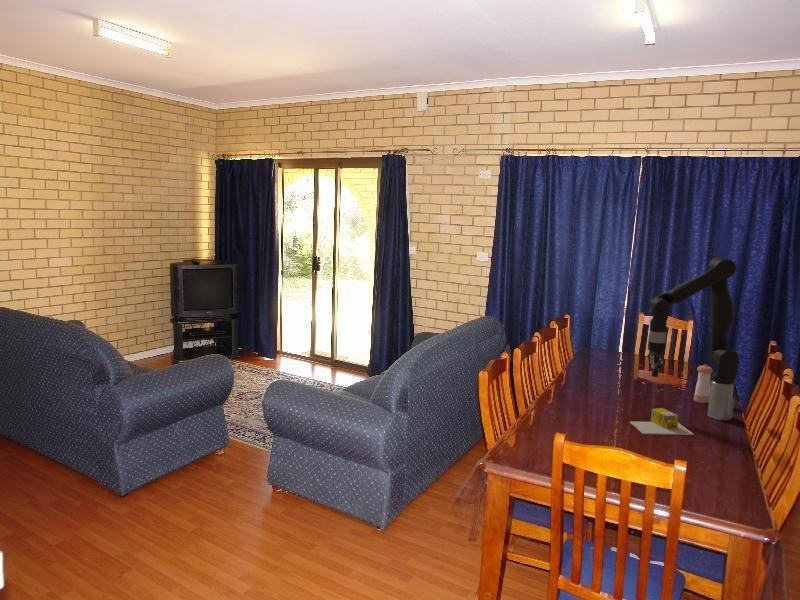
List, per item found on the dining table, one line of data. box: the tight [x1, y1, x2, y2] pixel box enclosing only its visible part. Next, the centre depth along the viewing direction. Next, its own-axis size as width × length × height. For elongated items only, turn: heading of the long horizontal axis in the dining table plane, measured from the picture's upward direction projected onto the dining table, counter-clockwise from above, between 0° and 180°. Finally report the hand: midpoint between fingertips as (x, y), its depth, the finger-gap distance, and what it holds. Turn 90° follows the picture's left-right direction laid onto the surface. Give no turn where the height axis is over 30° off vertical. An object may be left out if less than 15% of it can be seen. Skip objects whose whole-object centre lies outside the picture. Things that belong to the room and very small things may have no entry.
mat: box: [629, 421, 695, 436], centre depth 253 cm, size 22×14×1 cm, turn 91°
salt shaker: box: [693, 363, 714, 404], centre depth 292 cm, size 7×7×19 cm
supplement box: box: [649, 407, 679, 429], centre depth 256 cm, size 6×6×11 cm
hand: (654, 376), depth 269 cm, fingers closed
